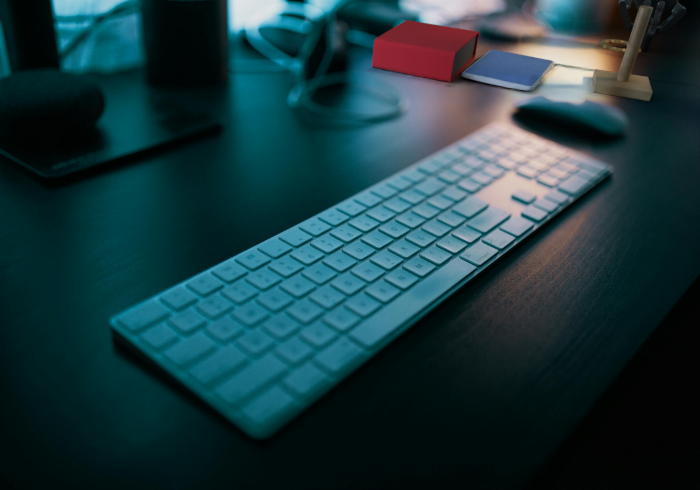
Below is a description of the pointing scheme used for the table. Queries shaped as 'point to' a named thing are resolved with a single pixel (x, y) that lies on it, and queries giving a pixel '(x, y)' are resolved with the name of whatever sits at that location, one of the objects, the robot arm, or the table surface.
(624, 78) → the stand
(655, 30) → the robot arm
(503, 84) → the tablet
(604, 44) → the ring
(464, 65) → the red box
